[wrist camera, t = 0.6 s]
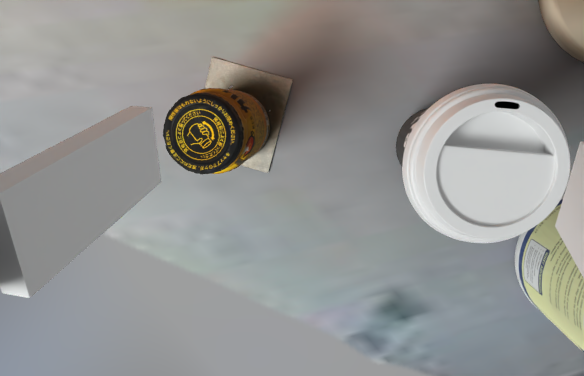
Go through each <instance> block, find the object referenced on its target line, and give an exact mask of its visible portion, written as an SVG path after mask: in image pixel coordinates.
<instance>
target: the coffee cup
mask: <svg viewBox="0 0 584 376" xmlns="http://www.w3.org/2000/svg"><path fill="white" fill-rule="evenodd" d="M396 152H397V157H398V160H399V162H400V164H401V166H402V173H403V181H404V186H405V190H406V193H407V196H408V198H409V200H410V202H411V204H412V206H413V207H414V209H415V210H416V212H417V213H418V214H419V216H420V217H421V218H422V219H423V220H424V221H425V222H426V223H427V224H428V225H430V226H431V227H432V228H434V229H435V230H437V231H438V232H440V233H442V234H444V235H446V236H448V237H451V238H454V239H457V240H461V241H466V242H473V243H492V242H499V241H503V240H507V239H510V238H513V237H516V236H518V235H521V234H523V233H525V232H527V231H528V230H530V229H532V228H533V227H535V226H536V225H538V224H539V223H540V222H542V221H543V220H544V219H545V218H546V217H547V216H548V215H549V214H550V213H551V212H552V211H553V210H554V209H555V207H556V206H557V204H558V203H559V201H560V200H561V198H562V196H563V194H564V192H565V189H566V187H567V183H568V180H569V175H570V151H569V145H568V141H567V138H566V135H565V132H564V130H563V128H562V126H561V124H560V122H559V121H558V119H557V118H556V116H555V115H554V114H553V112H552V111H551V110H550V109H549V108H548V107H547V106H546V105H545V104H544V103H542V102H541V101H540V100H538V99H537V98H536V97H534V96H533V95H531V94H529V93H527V92H525V91H523V90H521V89H518V88H515V87H512V86H508V85H502V84H478V85H472V86H468V87H464V88H461V89H459V90H456V91H454V92H452V93H450V94H448V95H446V96H444V97H443V98H441V99H440V100H438V101H437V102H436V103H434V104H433V105H432V106H431V107H430V108H427V109H424V110H422V111H419V112H417V113H416V114H414V115H413V116H411V117H410V118H409V119H408V120H407V121H406V122H405V123H404V125H403V126H402V128H401V129H400V132H399V134H398V137H397V142H396Z"/></svg>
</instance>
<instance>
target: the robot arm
mask: <svg viewBox="0 0 584 376" xmlns="http://www.w3.org/2000/svg"><path fill="white" fill-rule="evenodd" d="M159 183H161V175H160V167H159V159H158V151H157V143H156V135H155V127H154V119H153V111H152V107H139V106H130V107H128V108H126V109H124V110H122V111H120V112H119V113H117V114H115V115H113V116H111V117H109V118H107V119H105V120H103V121H101V122H99V123H97V124H95V125H93V126H91V127H89V128H88V129H86V130H84V131H82V132H80V133H78V134H76V135H74V136H72V137H70V138H68V139H66V140H64V141H62V142H60V143H58V144H57V145H55V146H53V147H51V148H49V149H47V150H45V151H43V152H41V153H39V154H37V155H35V156H33V157H31V158H29V159H27V160H25V161H24V162H22V163H20V164H18V165H16V166H14V167H12V168H10V169H8V170H6V171H4V172H2V173H0V288H1V291H2V293H4V294H10V295H15V296H21V297H27V298H30V297H31V296H33V295H34V294H35V293H36V292H37V291H38V290H39V289H41V288H42V287H43V286H44V285H45V284H46V283H47V282H49V281H50V280H51V279H52V278H53V277H54V276H55V275H56V274H58V273H59V272H60V271H61V270H62V269H63V268H64V267H65V266H67V265H68V264H69V263H70V262H71V261H72V260H73V259H74V258H76V257H77V256H78V255H79V254H80V253H81V252H82V251H84V250H85V249H86V248H87V247H88V246H89V245H90V244H91V243H93V242H94V241H95V240H96V239H97V238H98V237H99V236H101V235H102V234H103V233H104V232H105V231H106V230H107V229H108V228H110V227H111V226H112V225H113V224H114V223H115V222H116V221H118V220H119V219H120V218H121V217H122V216H123V215H124V214H125V213H127V212H128V211H129V210H130V209H131V208H132V207H133V206H135V205H136V204H137V203H138V202H139V201H140V200H141V199H142V198H144V197H145V196H146V195H147V194H148V193H149V192H150V191H151V190H153V189H154V188H155V187H156V186H157V185H158V184H159ZM555 227H556V229H557V231H558V233H559V234H560V236H561V238H562V240H563V242H564V243H565V245H566V247H567V249H568V251H569V252H570V254H571V256H572V258H573V260H574V262H575V263H576V265H577V267H578V269H579V271H580V272H581V274H582V276H583V278H584V142H582V141H580V144H579V148H578V151H577V154H576V158H575V161H574V164H573V168H572V171H571V174H570V178H569V181H568V184H567V188H566V191H565V194H564V198H563V201H562V204H561V208H560V211H559V214H558V218H557V221H556V224H555Z"/></svg>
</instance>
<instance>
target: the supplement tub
mask: <svg viewBox="0 0 584 376" xmlns="http://www.w3.org/2000/svg"><path fill="white" fill-rule="evenodd" d="M563 198H564V194H563V196H562V198H561V200H560V201H559V203H558V204H557V206H556V207H555V209H554V210H553V211H552V212H551V213H550V214H549V215H548V216H547V217H546V218H545V219H544V220H543V221H542V222H540V223H539V224H538V225H536V226H535V227H533V228H532V229H530V230H528V231H527V232H525V233H523V234H521V235H520V236H519V239H518V242H517V246H516V251H515V269H516V274H517V278H518V281H519V283H520V286H521V288H522V290H523V292H524V293H525V295H526V296H527V298H528V299H529V300H530V302H531V303H532V304H533V305H534V306H535V307H536V308H537V309H539V310H540V311H541V312H542V313H543V314H544V315H545V316H546V317H547V318H548V319H549V320H550V321H551V322H553V323H554V324H555V325H556V326H557V327H558V328H559V329H560V330H561V331H562V332H563V333H564V334H565V335H566V336H567V337H568V338H569V339H570V340H571V341H572V342H573V343H574V344H575V345H576V346H577V347H579V348H580V349H581V350H582V351H583V352H584V278H583V276H582V274H581V272H580V271H579V269H578V267H577V265H576V263H575V262H574V260H573V258H572V256H571V254H570V252H569V251H568V249H567V247H566V245H565V243H564V242H563V240H562V238H561V236H560V234H559V233H558V231H557V229H556V227H555V224H556V221H557V218H558V214H559V211H560V208H561V204H562V201H563Z"/></svg>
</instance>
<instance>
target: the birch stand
mask: <svg viewBox="0 0 584 376" xmlns="http://www.w3.org/2000/svg"><path fill="white" fill-rule="evenodd" d="M538 1H539V6H540V12H541V14H542V17H543V20H544V23H545V25H546V27H547V29H548V31H549V33H550V34H551V36H552V37H553V38H554V40H555V41H556V42H557V43H558V44H559V45H560V47H561V48H562V49H563V50H565V51H566V52H567V53H568V54H570V55H571V56H573V57H574V58H576V59H578V60H579V61H581V62H584V0H538Z"/></svg>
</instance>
